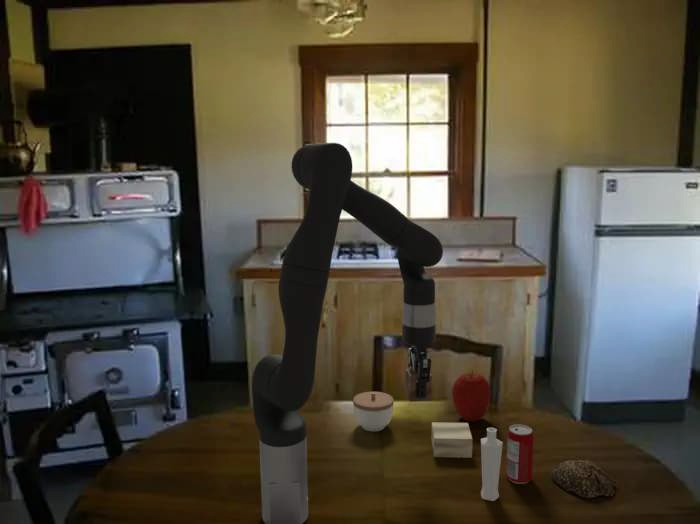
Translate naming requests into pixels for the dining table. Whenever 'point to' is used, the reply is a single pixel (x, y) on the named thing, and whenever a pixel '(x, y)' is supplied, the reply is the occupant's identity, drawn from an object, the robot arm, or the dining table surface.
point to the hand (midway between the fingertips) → (418, 392)
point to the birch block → (451, 440)
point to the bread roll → (583, 479)
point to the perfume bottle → (490, 464)
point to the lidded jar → (373, 410)
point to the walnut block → (411, 387)
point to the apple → (471, 396)
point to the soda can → (519, 454)
